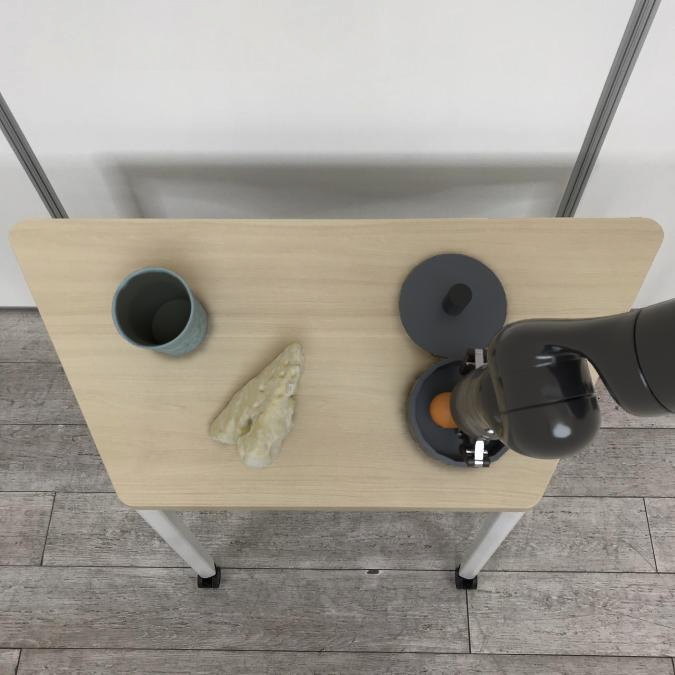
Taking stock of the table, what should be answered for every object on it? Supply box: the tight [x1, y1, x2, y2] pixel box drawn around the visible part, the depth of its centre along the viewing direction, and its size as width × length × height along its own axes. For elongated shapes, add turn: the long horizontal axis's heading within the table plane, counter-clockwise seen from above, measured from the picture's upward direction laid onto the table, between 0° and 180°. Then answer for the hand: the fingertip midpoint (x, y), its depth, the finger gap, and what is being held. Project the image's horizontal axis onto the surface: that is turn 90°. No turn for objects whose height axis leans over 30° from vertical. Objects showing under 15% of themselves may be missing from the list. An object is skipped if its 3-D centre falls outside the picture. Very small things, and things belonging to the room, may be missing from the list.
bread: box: [429, 392, 458, 429], centre depth 77 cm, size 9×4×4 cm, turn 88°
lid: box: [398, 253, 508, 359], centre depth 82 cm, size 15×15×7 cm
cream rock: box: [207, 341, 306, 469], centre depth 80 cm, size 15×7×15 cm
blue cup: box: [110, 266, 209, 356], centre depth 80 cm, size 10×10×12 cm
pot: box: [405, 355, 510, 469], centre depth 80 cm, size 14×14×6 cm
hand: (463, 411), depth 79 cm, fingers closed on bread, 4 cm apart
